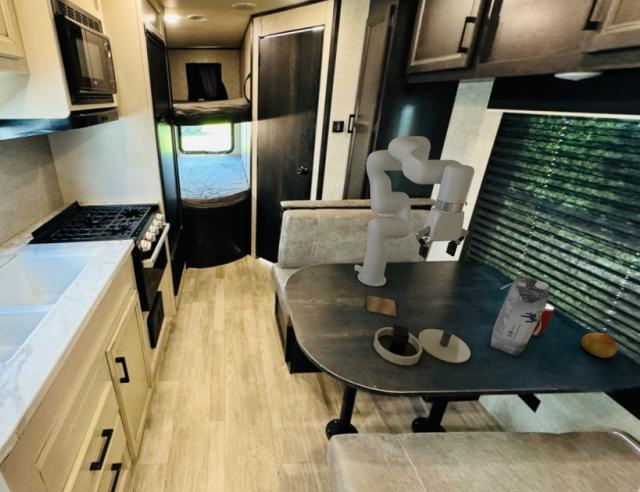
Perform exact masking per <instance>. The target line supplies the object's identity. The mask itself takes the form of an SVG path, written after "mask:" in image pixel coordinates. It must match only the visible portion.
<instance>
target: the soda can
mask: <svg viewBox="0 0 640 492" xmlns="http://www.w3.org/2000/svg"><path fill="white" fill-rule="evenodd" d="M554 313H555V307H554V306H553V305H552V304H550V303H548V302H547V304H546V306H545V309H544V311H543V313H542V315H541V317H540V319H539V321H538V323H537V325H536V327H535V329H534V331H533V333H532V335H531V336H534V337H541V336H543V334H544V332H545V330H546V329H547V327H548V325H549V323H550V320H551V319H552V317H553V315H554Z"/></svg>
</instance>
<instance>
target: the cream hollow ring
mask: <svg viewBox="0 0 640 492" xmlns="http://www.w3.org/2000/svg"><path fill="white" fill-rule="evenodd" d="M392 328H393V326H392V327H390V326H387V327H386V326H385V327H381V328H379V329H378V330H377V331H376V332H375V333H374V338H373V347H374V349H375V351H376V353H378V354H379V355H380V356H381V357H382V358H383V359H385V360H387V361H388V362H390V363H392V364H396V365H400V366H412V365H414V364H417V363H418V362H419V360H420V359H421V356H422V353H423V347H422V345H421V344H420V342H419V340H418V337H416V336H415V335H413V334H412V333H411V332H409V340H408V343H409V344H411V346H413V347H414V349H415V350H416V354H414V355H411V356H402V355H400V354H396V353H394V352H390V351H389V350H388V349H386V348H385V347H384V346H382V345H381V343H380V342H379V338H381V337H383V336H390V335H391V331H392Z"/></svg>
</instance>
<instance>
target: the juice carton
mask: <svg viewBox="0 0 640 492" xmlns="http://www.w3.org/2000/svg"><path fill="white" fill-rule="evenodd" d="M549 286H550V285H549V282H544V281H541V280H537V279H533V278H531V277H526V276H523V275H519V274H518V275H517V276H516V278H515V279H514V281H513V282H512V284H511V286H510V288H509V290H508V292H507V295H506V297H505V299H504V302H503V304H502V306H501V309H500V311H499V314H498V316H497V318H496V320H495V323H494V326H493V329H492V333H491V339H490V341H491V342H490V346H491V347H492V348H495V349H496V350H499V351H503V352H504V353H507V354H510V355H512V356H514V357H519V356H520V354H522V352H523V351H524V350H525V348H526V346H527V344H528V343H529V340H530V338H531V336H533V335H532V333H533V331H534V329H535V327H536V325H537V323H538V321H539V319H540V317H541V315H542V313H543V311H544V309H545V306H546V304H547V303H548V300H549V296H550V295H549V292H548V289H549Z"/></svg>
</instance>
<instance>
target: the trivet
mask: <svg viewBox="0 0 640 492" xmlns="http://www.w3.org/2000/svg"><path fill="white" fill-rule="evenodd" d="M366 311H368V312H372V313H377V314H383V315H389V316H393V317H397V307H396V300H394V299H389V298H385V297H384V298H383V297H379V296H373V295H368V294H367V295H366Z"/></svg>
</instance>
